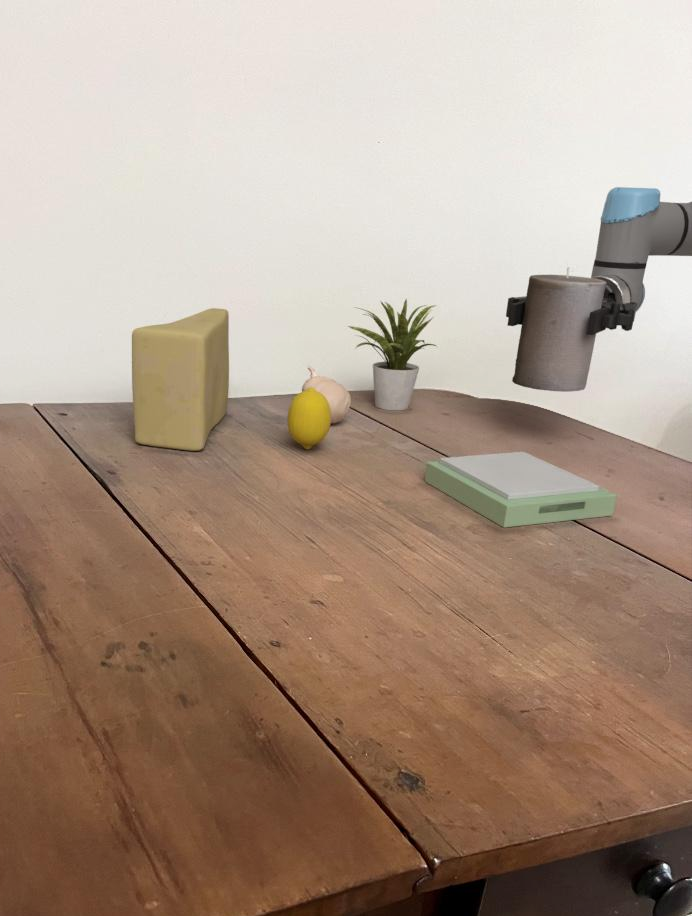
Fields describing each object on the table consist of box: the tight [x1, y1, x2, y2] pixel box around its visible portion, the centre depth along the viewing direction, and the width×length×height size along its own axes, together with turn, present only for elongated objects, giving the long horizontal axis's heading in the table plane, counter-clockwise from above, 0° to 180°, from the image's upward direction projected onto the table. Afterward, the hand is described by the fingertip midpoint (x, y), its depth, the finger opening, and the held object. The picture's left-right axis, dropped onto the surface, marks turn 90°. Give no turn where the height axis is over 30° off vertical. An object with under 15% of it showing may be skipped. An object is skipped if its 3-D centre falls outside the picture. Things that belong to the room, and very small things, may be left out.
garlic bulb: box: [301, 364, 352, 424], centre depth 130 cm, size 7×6×8 cm
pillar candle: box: [511, 267, 607, 393], centre depth 121 cm, size 10×10×15 cm
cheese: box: [131, 307, 230, 452], centre depth 123 cm, size 22×10×15 cm, turn 162°
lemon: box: [286, 388, 332, 450], centre depth 117 cm, size 6×6×8 cm
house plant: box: [347, 298, 439, 411], centre depth 140 cm, size 14×14×16 cm
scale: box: [424, 451, 618, 528], centre depth 103 cm, size 16×14×3 cm
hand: (550, 319), depth 117 cm, fingers closed on pillar candle, 9 cm apart
